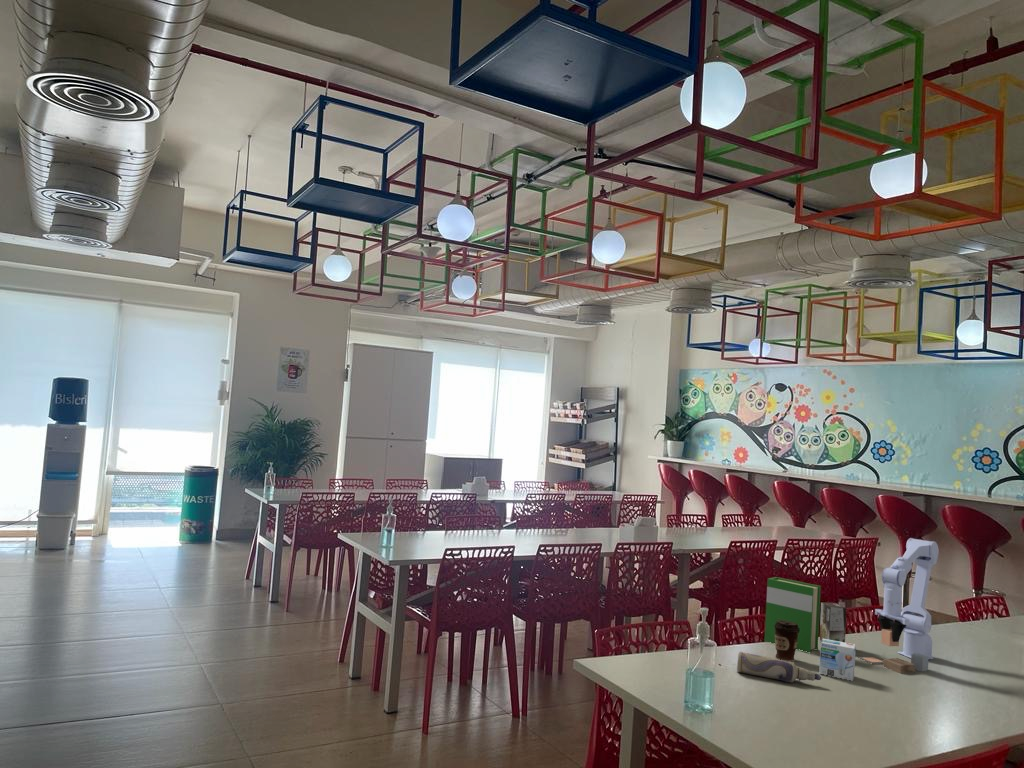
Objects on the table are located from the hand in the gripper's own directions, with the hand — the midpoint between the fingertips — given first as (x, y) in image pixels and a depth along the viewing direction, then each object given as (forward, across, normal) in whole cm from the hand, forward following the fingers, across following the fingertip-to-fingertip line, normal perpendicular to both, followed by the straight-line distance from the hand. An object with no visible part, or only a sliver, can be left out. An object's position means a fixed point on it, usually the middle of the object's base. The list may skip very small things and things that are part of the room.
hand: (890, 639), depth 265 cm
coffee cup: (+9, -5, -40) cm, 41 cm away
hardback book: (+9, -22, -26) cm, 35 cm away
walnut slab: (+9, +6, -2) cm, 11 cm away
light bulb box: (+9, +12, -32) cm, 35 cm away
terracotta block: (+2, 0, 0) cm, 2 cm away
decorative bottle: (+9, +15, -58) cm, 60 cm away
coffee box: (+9, -20, -9) cm, 23 cm away
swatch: (+8, -3, -5) cm, 10 cm away
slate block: (+9, +6, +7) cm, 13 cm away
